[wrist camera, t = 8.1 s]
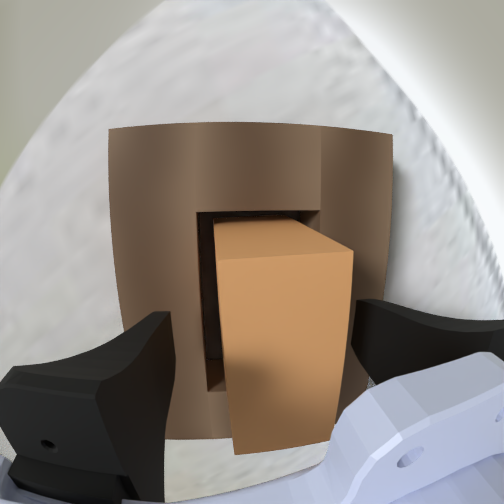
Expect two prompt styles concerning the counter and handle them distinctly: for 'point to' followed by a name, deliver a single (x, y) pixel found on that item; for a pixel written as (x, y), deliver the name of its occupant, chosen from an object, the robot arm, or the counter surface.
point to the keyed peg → (281, 329)
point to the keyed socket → (237, 199)
